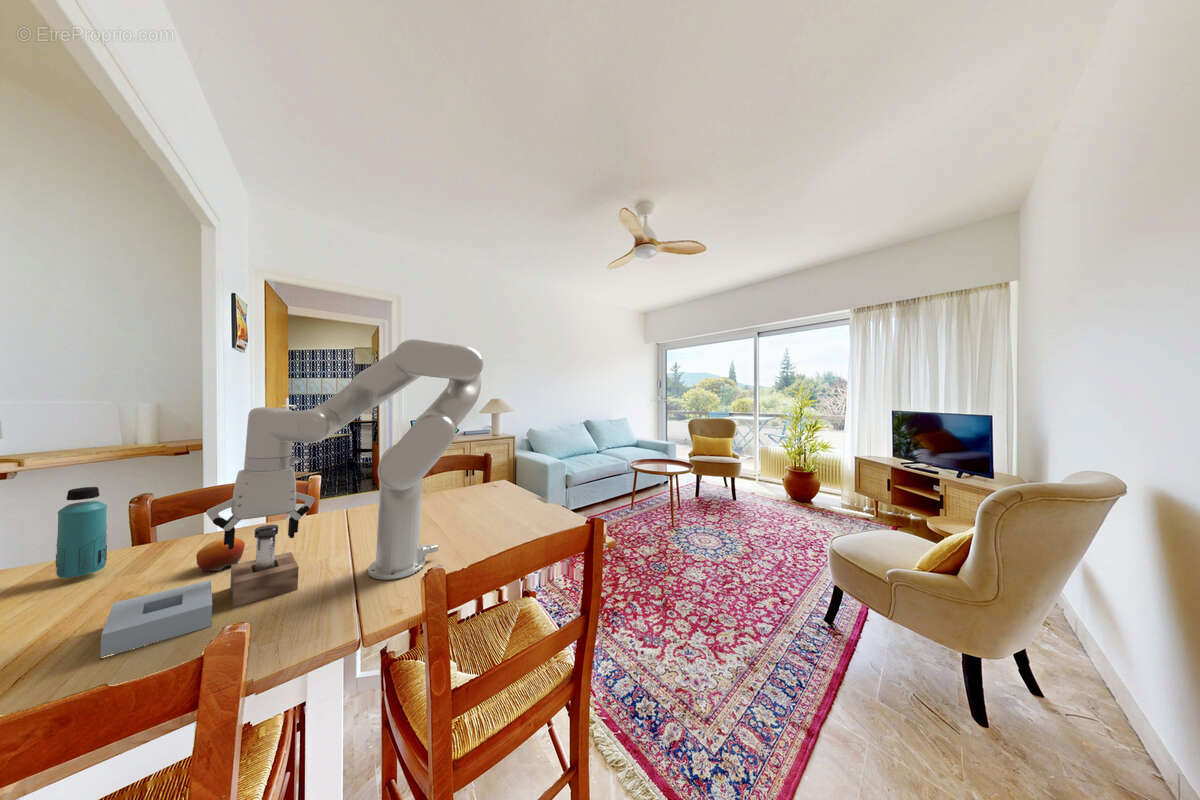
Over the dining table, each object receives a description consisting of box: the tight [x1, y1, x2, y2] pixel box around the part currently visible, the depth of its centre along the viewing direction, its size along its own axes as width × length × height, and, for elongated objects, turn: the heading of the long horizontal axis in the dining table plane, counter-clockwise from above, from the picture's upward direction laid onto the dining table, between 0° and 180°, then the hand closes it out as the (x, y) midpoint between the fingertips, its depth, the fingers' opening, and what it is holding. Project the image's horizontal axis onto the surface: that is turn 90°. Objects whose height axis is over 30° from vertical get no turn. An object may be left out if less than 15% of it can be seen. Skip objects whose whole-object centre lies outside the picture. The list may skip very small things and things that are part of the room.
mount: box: [229, 551, 299, 609], centre depth 78 cm, size 10×10×5 cm
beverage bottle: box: [54, 486, 108, 579], centre depth 79 cm, size 6×7×20 cm
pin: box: [254, 524, 279, 572], centre depth 78 cm, size 4×4×14 cm
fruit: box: [196, 536, 246, 572], centre depth 87 cm, size 8×8×8 cm
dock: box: [99, 579, 213, 658], centre depth 65 cm, size 12×12×4 cm
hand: (262, 541), depth 78 cm, fingers open, 9 cm apart
